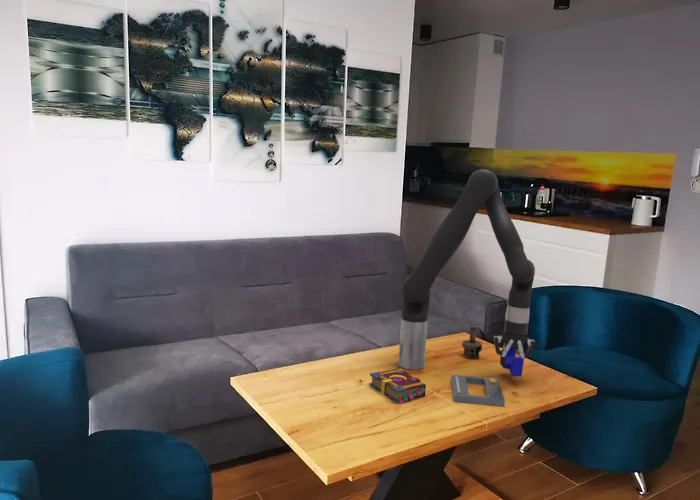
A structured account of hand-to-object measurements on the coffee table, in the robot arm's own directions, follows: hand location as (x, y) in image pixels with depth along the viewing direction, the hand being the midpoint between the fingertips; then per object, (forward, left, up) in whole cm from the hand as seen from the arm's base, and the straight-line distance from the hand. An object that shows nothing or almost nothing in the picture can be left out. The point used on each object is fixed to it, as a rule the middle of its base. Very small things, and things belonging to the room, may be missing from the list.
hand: (511, 367), depth 186 cm
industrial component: (-12, +22, -5) cm, 25 cm away
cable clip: (0, 0, -1) cm, 1 cm away
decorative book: (-37, -18, -5) cm, 41 cm away
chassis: (-12, -13, -5) cm, 18 cm away
